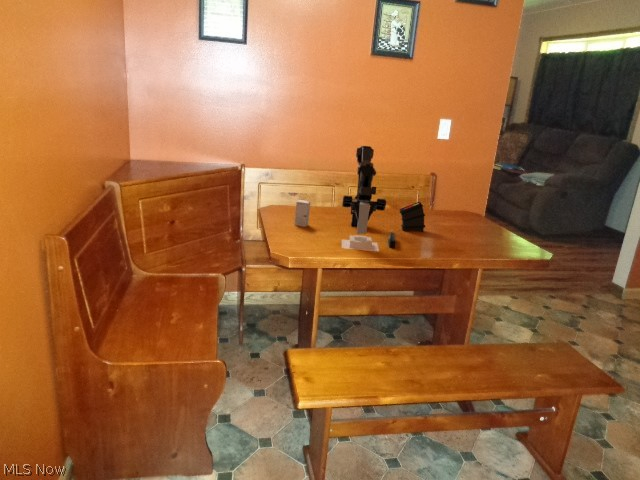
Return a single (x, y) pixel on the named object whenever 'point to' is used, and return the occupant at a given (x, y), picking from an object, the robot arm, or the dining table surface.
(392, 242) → the mobile phone
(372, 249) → the white flat stepped block
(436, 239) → the dining table surface
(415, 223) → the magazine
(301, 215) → the skincare box
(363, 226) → the plug
